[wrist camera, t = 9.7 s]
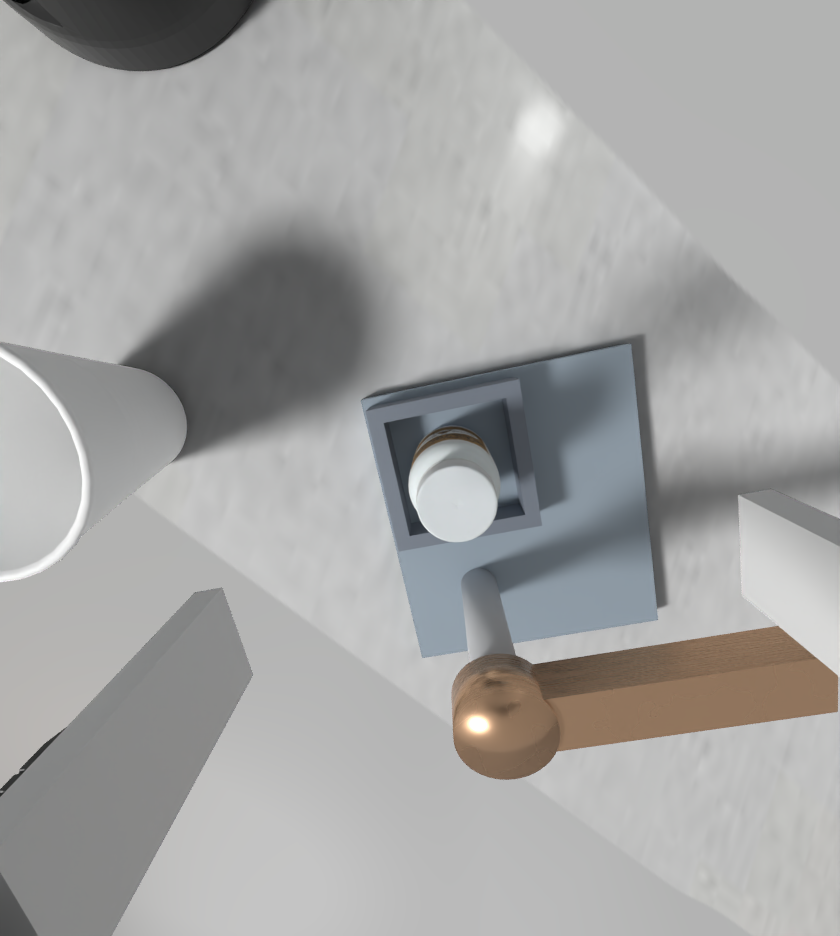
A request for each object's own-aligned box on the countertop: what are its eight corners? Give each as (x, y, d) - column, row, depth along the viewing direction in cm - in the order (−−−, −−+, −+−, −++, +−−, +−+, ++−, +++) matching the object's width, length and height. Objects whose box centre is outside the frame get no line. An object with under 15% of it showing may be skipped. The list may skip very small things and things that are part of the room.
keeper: (460, 740, 20) (463, 786, 18) (443, 662, 19) (444, 700, 17) (796, 691, 19) (841, 734, 17) (795, 605, 18) (843, 639, 16)
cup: (137, 296, 26) (-67, 261, 16) (255, 435, 28) (145, 488, 17) (23, 404, 28) (-229, 438, 17) (142, 528, 30) (-21, 627, 19)
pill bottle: (477, 414, 26) (493, 440, 19) (498, 485, 27) (521, 537, 20) (403, 436, 27) (390, 471, 19) (426, 506, 28) (422, 565, 20)
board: (363, 398, 27) (323, 426, 18) (624, 343, 26) (735, 341, 16) (422, 648, 31) (417, 782, 22) (650, 611, 30) (753, 736, 20)
